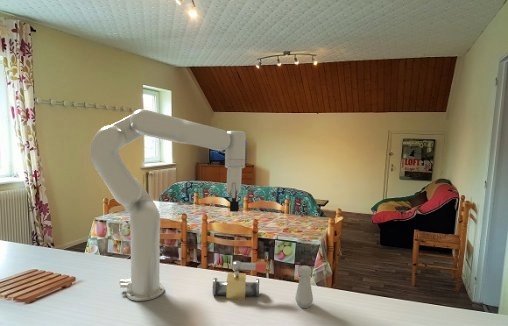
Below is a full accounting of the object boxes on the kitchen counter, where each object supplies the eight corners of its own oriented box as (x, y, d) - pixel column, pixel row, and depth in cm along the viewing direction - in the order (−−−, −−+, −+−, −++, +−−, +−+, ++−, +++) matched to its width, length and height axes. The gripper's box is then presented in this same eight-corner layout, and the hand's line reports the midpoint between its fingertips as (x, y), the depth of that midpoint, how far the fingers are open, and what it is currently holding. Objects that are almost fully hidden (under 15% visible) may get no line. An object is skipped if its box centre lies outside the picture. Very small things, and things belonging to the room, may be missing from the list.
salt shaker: (312, 310, 103) (314, 271, 102) (294, 308, 104) (296, 270, 103) (312, 301, 108) (314, 264, 107) (295, 299, 110) (297, 263, 109)
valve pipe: (212, 298, 109) (212, 273, 108) (214, 289, 115) (215, 265, 115) (258, 299, 109) (259, 274, 108) (258, 290, 115) (259, 266, 115)
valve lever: (231, 270, 110) (232, 263, 110) (232, 267, 113) (233, 260, 113) (266, 272, 109) (266, 265, 109) (266, 268, 112) (266, 261, 112)
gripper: (226, 161, 128) (226, 206, 129) (223, 165, 113) (222, 215, 114) (245, 162, 128) (244, 207, 129) (244, 165, 113) (243, 216, 114)
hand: (234, 211), depth 122 cm, fingers closed
